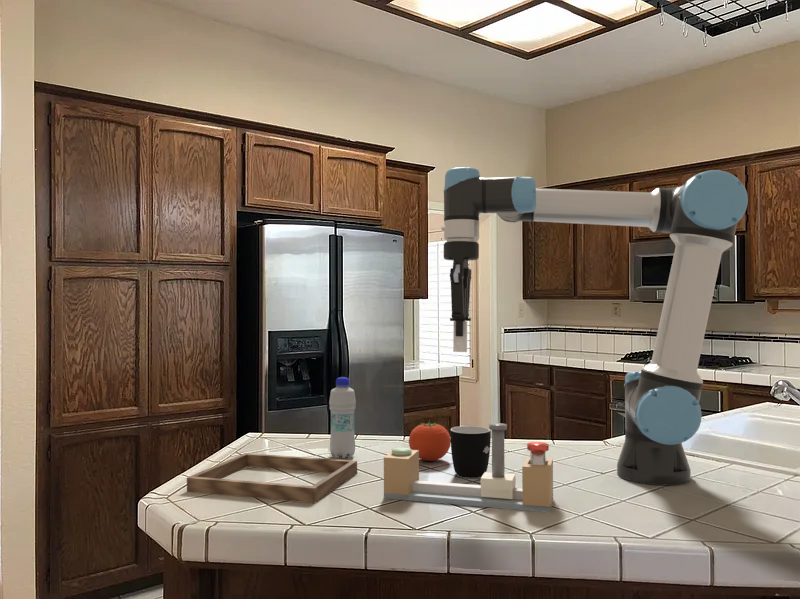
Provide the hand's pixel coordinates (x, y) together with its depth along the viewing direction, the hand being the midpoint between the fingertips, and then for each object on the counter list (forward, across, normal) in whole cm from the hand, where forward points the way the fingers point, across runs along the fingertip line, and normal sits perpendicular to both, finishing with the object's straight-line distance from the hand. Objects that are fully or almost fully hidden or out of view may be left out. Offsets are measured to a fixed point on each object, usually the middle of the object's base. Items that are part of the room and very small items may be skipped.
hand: (460, 351), depth 142 cm
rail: (+28, +11, +4) cm, 30 cm away
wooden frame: (+29, +9, -38) cm, 49 cm away
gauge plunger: (+25, +12, +17) cm, 33 cm away
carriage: (+27, +12, +10) cm, 31 cm away
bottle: (+29, -17, -32) cm, 46 cm away
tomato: (+28, -18, -10) cm, 35 cm away
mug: (+28, -9, +1) cm, 30 cm away
